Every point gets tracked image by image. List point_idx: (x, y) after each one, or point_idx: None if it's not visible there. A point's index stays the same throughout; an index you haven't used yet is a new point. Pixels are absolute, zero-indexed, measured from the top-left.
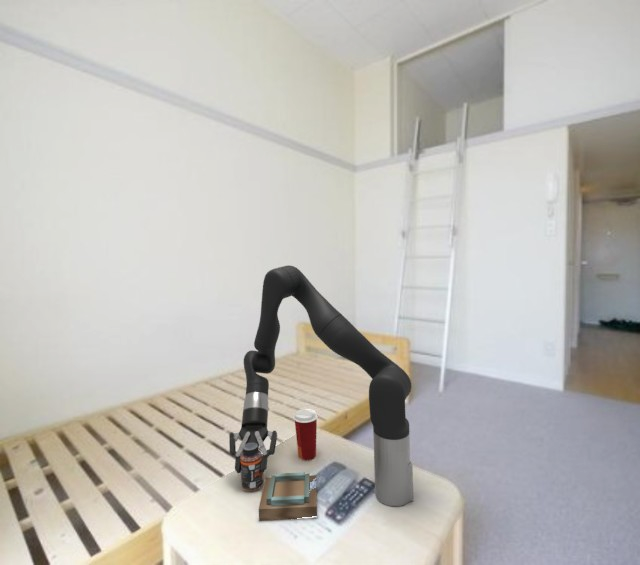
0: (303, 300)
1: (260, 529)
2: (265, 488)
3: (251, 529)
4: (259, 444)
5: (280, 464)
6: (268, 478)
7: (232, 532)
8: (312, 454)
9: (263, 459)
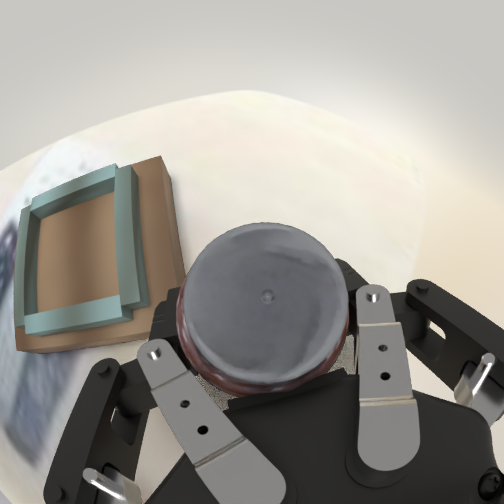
0: None
1: None
2: (161, 250)
3: (184, 153)
4: (193, 383)
5: None
6: None
7: (231, 137)
8: None
9: (165, 321)
